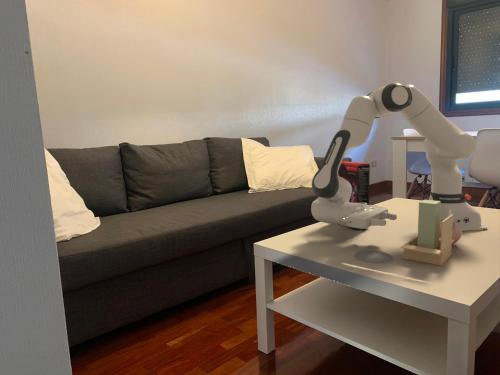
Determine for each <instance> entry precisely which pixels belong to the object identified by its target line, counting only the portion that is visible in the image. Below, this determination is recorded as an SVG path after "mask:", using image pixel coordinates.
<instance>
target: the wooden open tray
mask: <svg viewBox="0 0 500 375" xmlns="http://www.w3.org/2000/svg"><path fill="white" fill-rule="evenodd" d="M452 231H453V214H452V215H450V216H449V217H448V218H446V219H445V220H443V221H442V229H441V238H440V237H439V249H438V250H437V249H431V248H425V247H419V246H417V243H418V234H417V235H416V236H415V237H413V238H412V239H410V240H409V241H407V242H406V243H404V244H403V245H402V246H400V249H402V250H403V259H405V260H412V261H417V262H421V263H427V264H433V265H437V266H442V265H444V264H445V263H446V261H448V259H449V258H450V257H451V256H452V247H453V244H452V243H453V242H454V239H452Z"/></svg>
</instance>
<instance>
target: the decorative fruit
mask: <svg viewBox="0 0 500 375" xmlns="http://www.w3.org/2000/svg"><path fill="white" fill-rule="evenodd" d="M442 221H443V220H440V227H439V237H440V238H441V229H442ZM462 234H463V231H462V229H461V227H460V226H459V225H458V224H457V223H455V222H453V231H452V239H454V242H453V243H452V245H455V244H456V243H457V242H458V241H459V240H460V239H461V237H462V236H463V235H462Z"/></svg>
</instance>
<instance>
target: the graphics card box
mask: <svg viewBox="0 0 500 375" xmlns="http://www.w3.org/2000/svg"><path fill="white" fill-rule="evenodd" d="M370 168H371V164H370V163H366V162H358V161H357V162H356V161H348V160H342V162H341V165H340V167H339V170H338V175H339V176H340V177H342V178H344V179H345V180H347V181H348V182H349V183H350V184H351V186H352V194H351V198H350V201H349V202H351V203H367V205H370V174H371V173H370V171H371V169H370ZM349 228H350V229H354V230H357V231H358V230H360V229H359V228H353V227H349ZM369 228H370V227H368V228H367V229H369Z"/></svg>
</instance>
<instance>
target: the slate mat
mask: <svg viewBox="0 0 500 375" xmlns="http://www.w3.org/2000/svg"><path fill="white" fill-rule="evenodd" d="M354 258H355V259H356V260H358V261H361V262H364V263H370V264H384V263H385V264H386V263H390V262H392V261H393V259H394V257H393V255H391V254H390V253H388V252H385V251H382V250H361V251H357V252H356V253H354Z"/></svg>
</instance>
